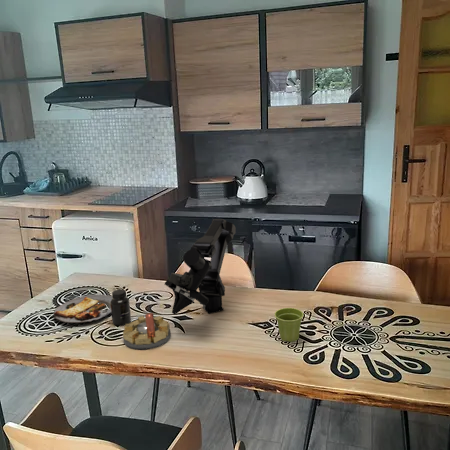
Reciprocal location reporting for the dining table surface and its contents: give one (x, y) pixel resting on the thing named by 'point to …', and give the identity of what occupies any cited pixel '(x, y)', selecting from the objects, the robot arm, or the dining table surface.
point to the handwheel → (152, 335)
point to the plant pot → (289, 323)
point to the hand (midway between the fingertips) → (173, 313)
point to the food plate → (83, 309)
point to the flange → (143, 330)
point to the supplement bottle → (120, 308)
